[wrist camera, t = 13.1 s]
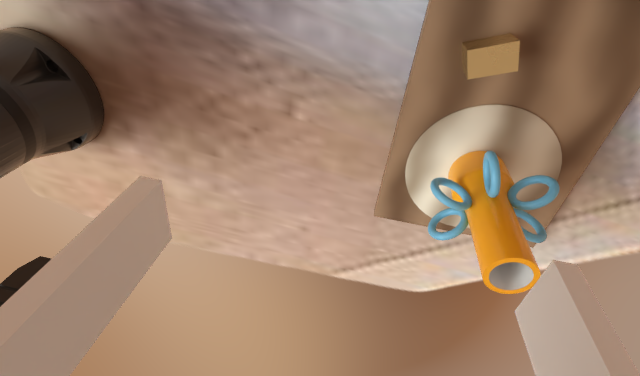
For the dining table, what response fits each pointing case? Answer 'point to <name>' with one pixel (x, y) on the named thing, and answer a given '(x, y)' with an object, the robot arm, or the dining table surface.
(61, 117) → the robot arm
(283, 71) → the dining table surface
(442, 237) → the cylinder
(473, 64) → the wooden block
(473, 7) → the board
